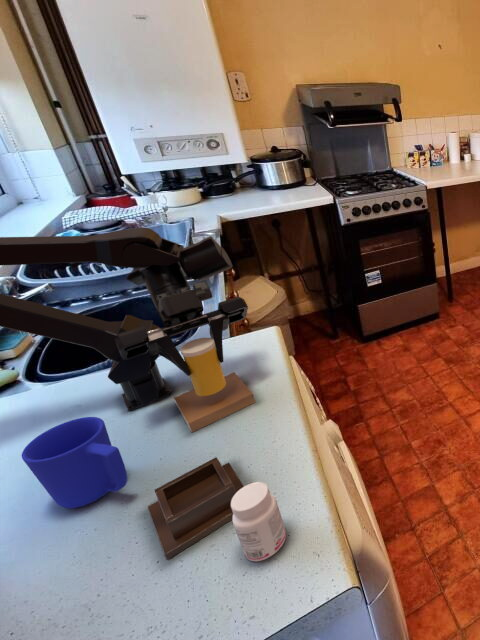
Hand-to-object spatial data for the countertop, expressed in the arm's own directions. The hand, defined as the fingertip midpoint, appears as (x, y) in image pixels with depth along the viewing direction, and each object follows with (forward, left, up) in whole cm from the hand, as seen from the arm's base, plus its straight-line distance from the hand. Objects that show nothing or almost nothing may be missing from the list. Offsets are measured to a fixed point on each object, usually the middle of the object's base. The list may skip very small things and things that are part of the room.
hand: (206, 368), depth 75 cm
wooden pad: (-2, 0, -9) cm, 9 cm away
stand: (+21, -8, -9) cm, 24 cm away
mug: (+7, -17, -9) cm, 20 cm away
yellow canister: (-1, 0, -5) cm, 5 cm away
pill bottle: (+33, -4, -9) cm, 34 cm away
